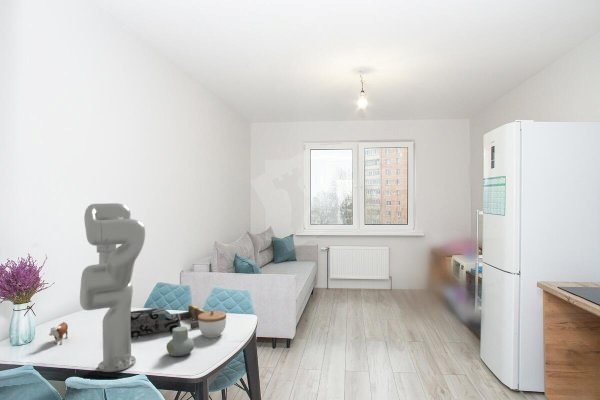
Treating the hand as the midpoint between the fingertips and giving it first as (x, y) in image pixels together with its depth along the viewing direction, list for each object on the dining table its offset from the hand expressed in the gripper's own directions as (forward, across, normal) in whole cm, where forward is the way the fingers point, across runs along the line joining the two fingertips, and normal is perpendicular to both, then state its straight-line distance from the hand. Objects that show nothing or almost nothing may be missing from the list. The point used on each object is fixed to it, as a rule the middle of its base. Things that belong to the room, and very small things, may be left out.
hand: (106, 287), depth 166 cm
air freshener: (+23, -33, -19) cm, 45 cm away
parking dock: (+24, 0, -38) cm, 45 cm away
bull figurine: (+25, +14, +16) cm, 32 cm away
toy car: (+24, 0, -19) cm, 31 cm away
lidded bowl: (+24, -22, -39) cm, 51 cm away
